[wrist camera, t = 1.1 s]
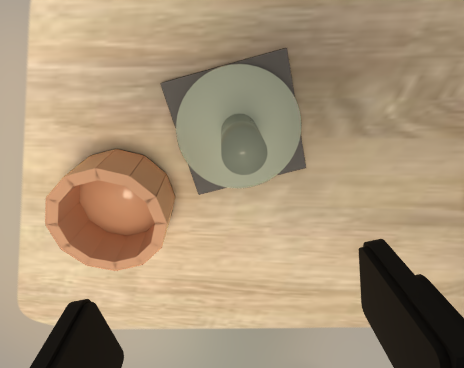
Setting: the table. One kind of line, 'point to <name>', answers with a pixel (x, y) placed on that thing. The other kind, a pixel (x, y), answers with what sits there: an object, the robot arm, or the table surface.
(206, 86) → the lid
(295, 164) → the mat
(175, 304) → the table surface
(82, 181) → the bowl
